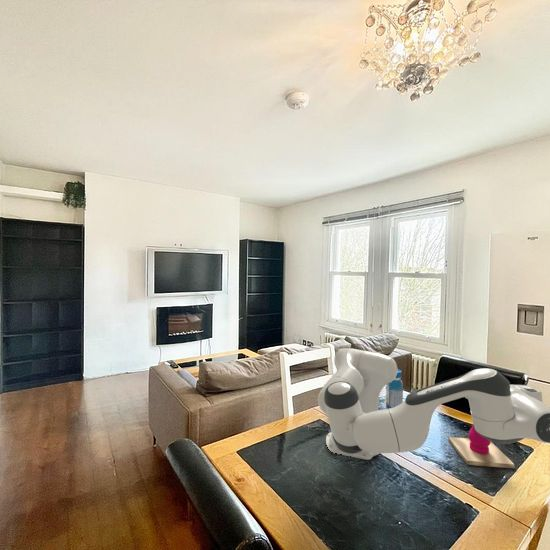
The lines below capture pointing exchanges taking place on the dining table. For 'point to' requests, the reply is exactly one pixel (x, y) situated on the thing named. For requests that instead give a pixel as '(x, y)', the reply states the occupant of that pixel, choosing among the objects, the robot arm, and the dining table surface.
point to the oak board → (472, 458)
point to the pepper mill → (478, 442)
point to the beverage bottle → (394, 392)
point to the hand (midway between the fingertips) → (483, 383)
